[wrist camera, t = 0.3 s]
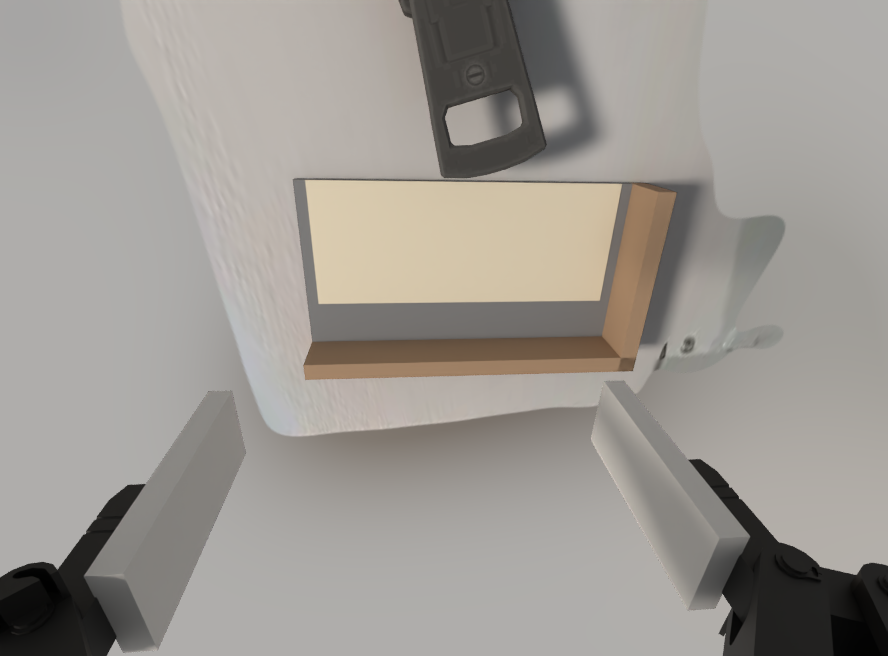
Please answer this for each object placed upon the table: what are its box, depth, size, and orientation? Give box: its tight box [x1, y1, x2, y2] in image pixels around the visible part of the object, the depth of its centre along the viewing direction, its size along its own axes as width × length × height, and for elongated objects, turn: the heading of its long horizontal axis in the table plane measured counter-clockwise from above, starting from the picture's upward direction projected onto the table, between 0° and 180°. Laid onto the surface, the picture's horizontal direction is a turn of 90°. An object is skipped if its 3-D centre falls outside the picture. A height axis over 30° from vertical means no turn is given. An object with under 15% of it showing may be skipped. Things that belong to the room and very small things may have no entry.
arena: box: [293, 179, 677, 380], centre depth 40 cm, size 16×30×5 cm, turn 89°
